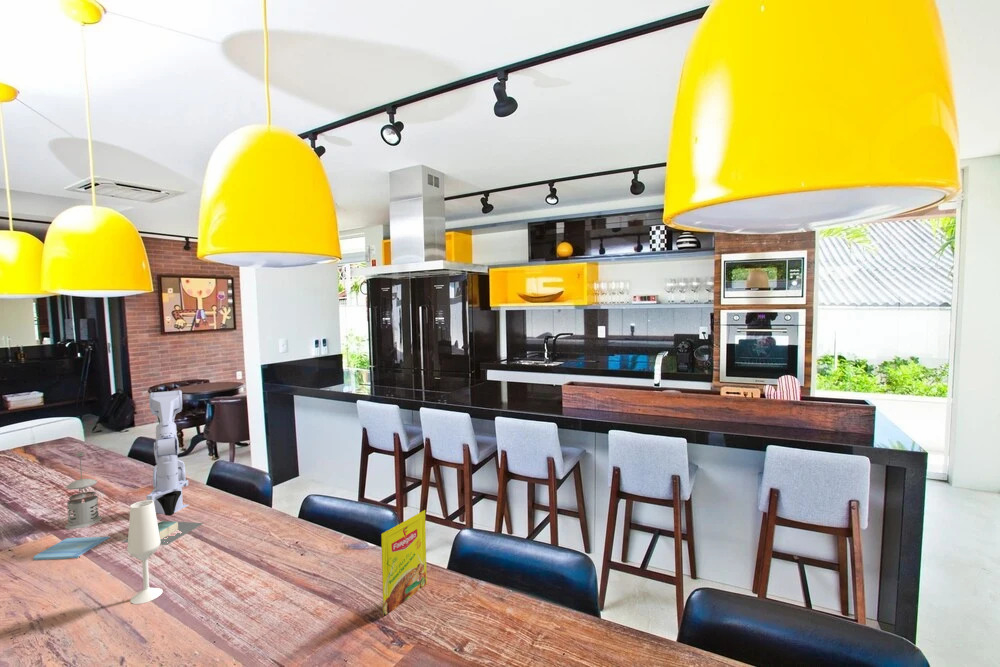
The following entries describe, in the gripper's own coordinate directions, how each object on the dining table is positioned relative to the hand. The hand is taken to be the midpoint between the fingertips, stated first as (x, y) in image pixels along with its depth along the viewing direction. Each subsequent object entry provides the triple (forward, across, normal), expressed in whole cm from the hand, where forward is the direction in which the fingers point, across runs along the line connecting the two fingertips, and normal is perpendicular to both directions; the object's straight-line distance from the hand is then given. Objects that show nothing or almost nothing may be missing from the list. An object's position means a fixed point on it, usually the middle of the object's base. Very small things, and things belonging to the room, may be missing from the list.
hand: (169, 514), depth 155 cm
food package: (+6, -28, -91) cm, 96 cm away
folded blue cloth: (+6, -14, +20) cm, 26 cm away
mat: (+5, -2, 0) cm, 6 cm away
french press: (+6, +3, +36) cm, 37 cm away
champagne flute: (+6, -33, -24) cm, 42 cm away
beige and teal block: (+4, 0, 0) cm, 4 cm away
